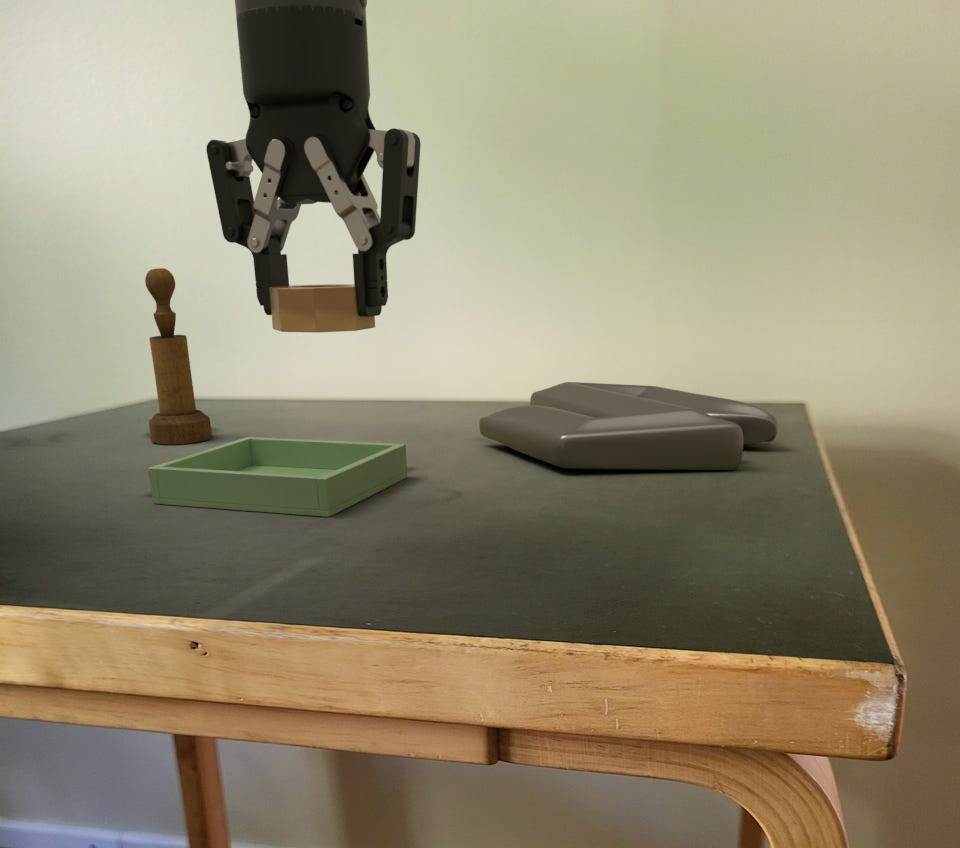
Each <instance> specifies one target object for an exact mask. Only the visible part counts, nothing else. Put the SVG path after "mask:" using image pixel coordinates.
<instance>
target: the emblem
mask: <svg viewBox="0 0 960 848" xmlns="http://www.w3.org/2000/svg"><path fill="white" fill-rule="evenodd" d="M478 424H479V433H480V435H481V436H483V437H485V438H487V439H488V440H493V441H494V442H495V441H496V442H498V443H500V444H502V445H504V446H506V447H508V448H510V449H512V450H514V451H516V452H518V453H521V454H524V455H527V456H529V457H531V458H534V459H537V460H540V461H542V462H545V463H547V464H550V465H553V466H556V467H558V468H562V469H567V470H628V471H629V470H635V471H636V470H639V471H640V470H643V471H724V472H725V471H734V470H736V469H738V467H739V466H740V464H741V461H742V459H743V455H744V453H743V452H744V445H747V444H749V445H750V444H758V443H763V442H764V443H770V442H773V441H774V440H775V439H776V437H777V434H778V427H779V426H778V421H777V418H776V416H774V414H772V413H770V412H768V411H766V410H764V409H762V408H761V407H758V406H756V405H753V404H750V403H748V402H743V401H739V400H735V399H730V398H726V397H725V398H724V397H719V396H712V395H708V394H701V393H695V392H690V391H685V390H678V389H673V388H668V387H663V386H657V385H656V386H655V385H641V384H618V383H600V382H599V383H595V382H577V381H565V382H561V383H558V384H556V385H552V386H550V387H547V388H544V389H541V390H537V391H534V392H533V393H531V395H530V399H529V405H517V406H512V407H508V408H505V409H501V410H498V411H494V412H492V413H490V414H487V415H484V416H482V417H481V418H479V423H478Z"/></svg>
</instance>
